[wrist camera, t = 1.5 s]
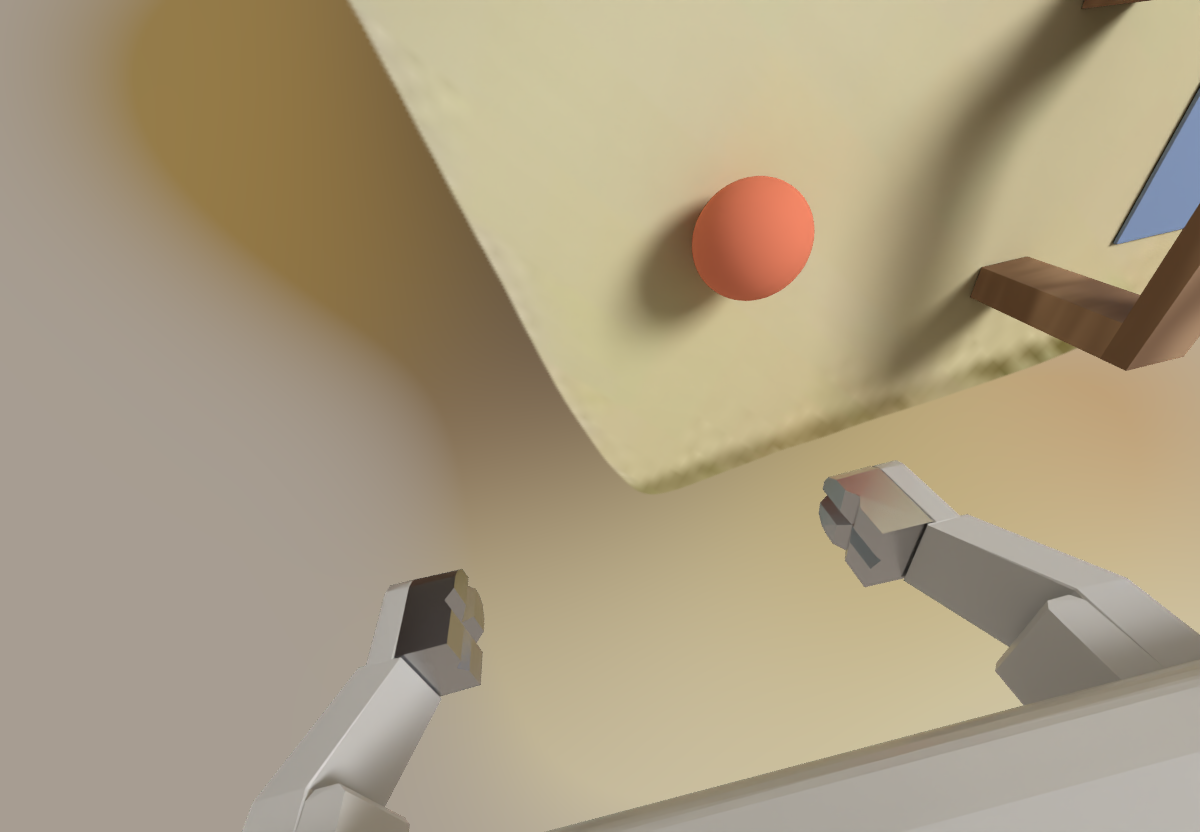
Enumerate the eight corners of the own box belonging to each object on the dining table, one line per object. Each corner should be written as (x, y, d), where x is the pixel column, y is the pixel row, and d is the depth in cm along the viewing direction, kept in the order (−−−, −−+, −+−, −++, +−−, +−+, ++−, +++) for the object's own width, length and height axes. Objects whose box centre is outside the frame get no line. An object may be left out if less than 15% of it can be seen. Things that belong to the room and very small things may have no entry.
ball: (674, 180, 21) (716, 205, 17) (783, 155, 22) (851, 174, 17) (680, 287, 25) (716, 331, 20) (773, 265, 25) (829, 304, 21)
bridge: (970, 297, 29) (1125, 370, 21) (1105, -55, 19) (1482, -139, 11) (1013, 286, 29) (1183, 356, 21) (1171, -69, 19) (1587, -162, 12)
